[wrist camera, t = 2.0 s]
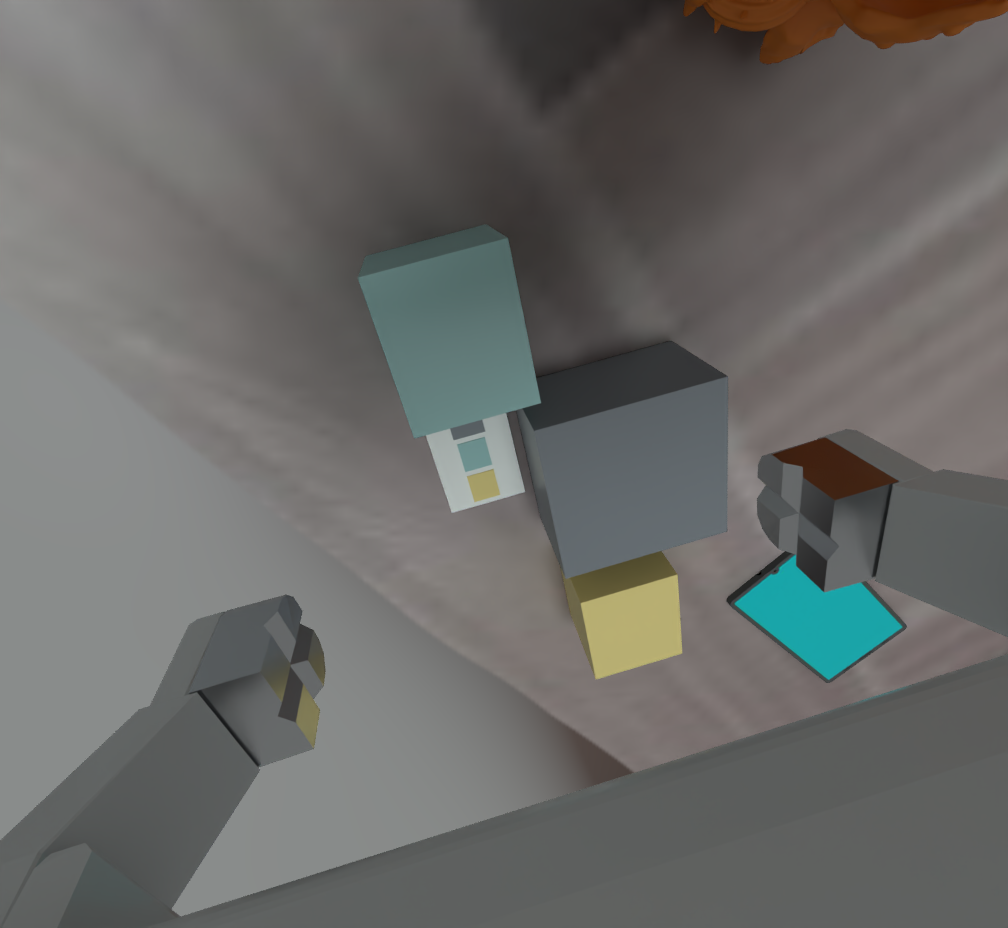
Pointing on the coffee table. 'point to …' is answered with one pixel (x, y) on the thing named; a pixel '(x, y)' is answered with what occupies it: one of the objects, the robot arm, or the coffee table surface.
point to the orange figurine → (844, 20)
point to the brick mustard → (626, 613)
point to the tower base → (628, 456)
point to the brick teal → (452, 328)
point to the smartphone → (816, 617)
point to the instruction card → (477, 462)
